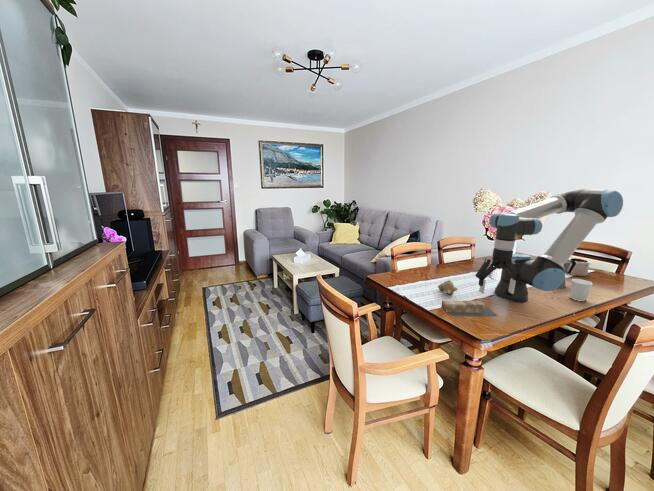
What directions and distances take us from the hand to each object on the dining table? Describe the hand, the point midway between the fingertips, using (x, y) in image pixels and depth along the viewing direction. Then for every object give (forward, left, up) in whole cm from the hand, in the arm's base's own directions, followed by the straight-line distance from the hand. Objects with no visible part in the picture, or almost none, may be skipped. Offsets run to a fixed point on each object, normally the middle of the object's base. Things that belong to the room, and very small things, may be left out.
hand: (496, 292), depth 129 cm
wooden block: (+6, 0, -7) cm, 9 cm away
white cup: (-53, -15, -10) cm, 55 cm away
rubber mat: (+11, 0, -10) cm, 15 cm away
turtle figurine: (+13, -20, -10) cm, 26 cm away
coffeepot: (-58, -35, -10) cm, 68 cm away
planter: (-86, -55, -10) cm, 102 cm away
